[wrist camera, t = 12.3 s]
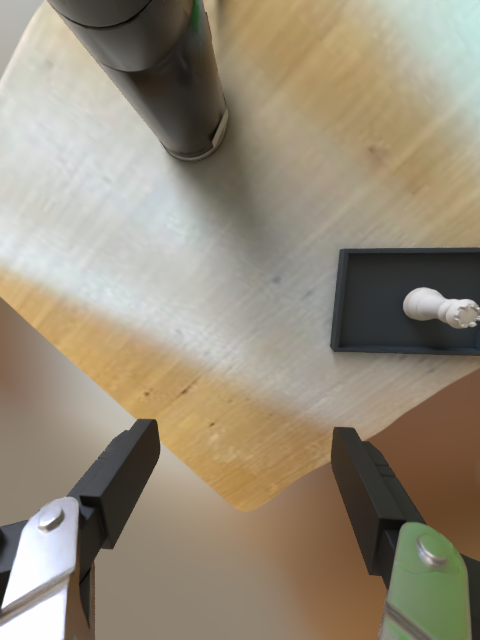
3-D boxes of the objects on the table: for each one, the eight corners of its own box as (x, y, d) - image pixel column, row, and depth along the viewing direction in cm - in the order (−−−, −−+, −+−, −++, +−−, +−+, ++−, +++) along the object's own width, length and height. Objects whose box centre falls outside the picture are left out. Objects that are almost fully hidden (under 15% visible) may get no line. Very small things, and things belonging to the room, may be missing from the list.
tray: (339, 249, 31) (344, 248, 29) (500, 248, 29) (517, 247, 27) (330, 347, 34) (334, 351, 32) (473, 350, 32) (486, 356, 31)
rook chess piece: (432, 282, 30) (491, 288, 22) (438, 312, 31) (497, 328, 23) (397, 293, 31) (443, 303, 23) (404, 323, 32) (450, 341, 24)
